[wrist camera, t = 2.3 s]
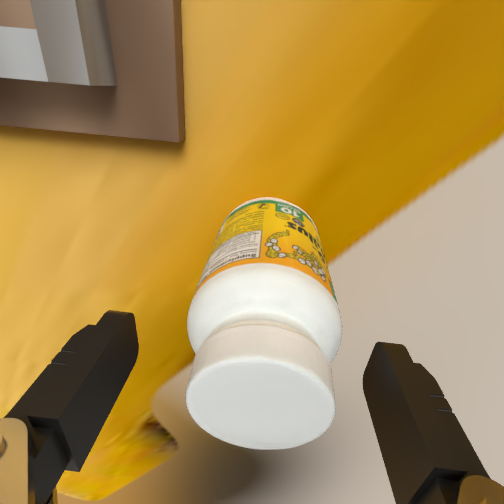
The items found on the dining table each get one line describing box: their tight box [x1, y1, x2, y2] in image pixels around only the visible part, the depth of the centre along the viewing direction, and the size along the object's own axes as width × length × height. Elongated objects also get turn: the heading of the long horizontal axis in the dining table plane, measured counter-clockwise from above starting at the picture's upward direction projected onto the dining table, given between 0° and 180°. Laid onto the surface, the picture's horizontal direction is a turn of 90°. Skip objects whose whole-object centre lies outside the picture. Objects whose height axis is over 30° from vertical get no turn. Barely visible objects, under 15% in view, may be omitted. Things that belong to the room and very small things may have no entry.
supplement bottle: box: [186, 197, 342, 450], centre depth 12 cm, size 6×5×10 cm
